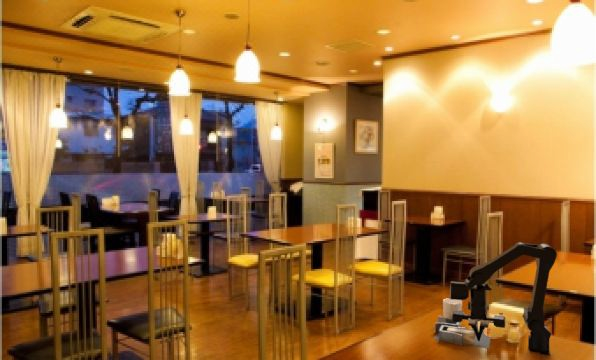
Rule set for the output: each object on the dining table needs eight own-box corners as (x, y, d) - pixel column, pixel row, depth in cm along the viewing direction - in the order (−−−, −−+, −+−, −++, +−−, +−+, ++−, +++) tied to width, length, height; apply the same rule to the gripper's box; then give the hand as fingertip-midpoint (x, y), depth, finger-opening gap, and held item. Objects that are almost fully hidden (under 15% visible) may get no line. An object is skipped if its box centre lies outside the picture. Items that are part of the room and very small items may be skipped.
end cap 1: (434, 332, 187) (434, 323, 186) (438, 325, 195) (438, 315, 195) (457, 336, 183) (457, 326, 183) (460, 328, 191) (460, 318, 191)
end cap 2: (465, 337, 182) (465, 327, 182) (462, 346, 173) (462, 335, 173) (442, 333, 186) (442, 323, 186) (438, 342, 177) (438, 331, 177)
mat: (491, 333, 186) (491, 332, 186) (488, 349, 171) (488, 348, 171) (440, 326, 195) (440, 325, 195) (433, 340, 180) (433, 339, 180)
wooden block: (474, 341, 178) (474, 331, 177) (473, 344, 175) (474, 334, 174) (448, 337, 182) (448, 327, 182) (446, 340, 179) (446, 330, 179)
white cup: (458, 328, 192) (458, 305, 192) (440, 324, 197) (440, 301, 197) (464, 323, 199) (464, 300, 198) (446, 319, 203) (446, 297, 203)
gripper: (505, 297, 178) (506, 337, 178) (455, 292, 186) (456, 330, 187) (504, 305, 168) (505, 347, 168) (451, 300, 176) (452, 340, 177)
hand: (478, 340), depth 175 cm, fingers closed
